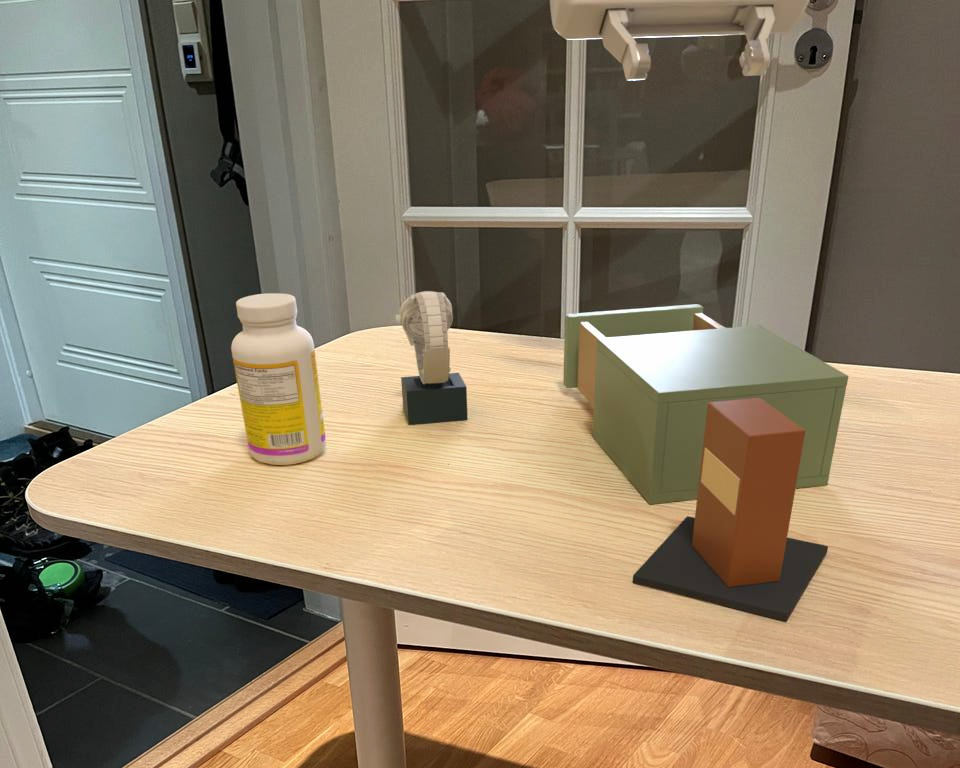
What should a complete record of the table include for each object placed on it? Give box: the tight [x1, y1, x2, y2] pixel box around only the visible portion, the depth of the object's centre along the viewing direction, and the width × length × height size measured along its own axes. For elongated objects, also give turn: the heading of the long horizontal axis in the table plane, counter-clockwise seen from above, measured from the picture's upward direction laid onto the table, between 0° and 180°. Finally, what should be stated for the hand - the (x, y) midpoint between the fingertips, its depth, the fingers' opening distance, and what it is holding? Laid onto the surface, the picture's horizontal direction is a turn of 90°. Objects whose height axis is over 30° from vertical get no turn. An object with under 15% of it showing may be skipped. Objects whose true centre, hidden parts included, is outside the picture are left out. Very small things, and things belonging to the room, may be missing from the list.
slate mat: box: [632, 515, 829, 622], centre depth 62 cm, size 10×10×1 cm
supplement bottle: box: [230, 292, 327, 466], centre depth 78 cm, size 7×7×13 cm
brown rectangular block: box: [692, 398, 806, 587], centre depth 59 cm, size 6×4×10 cm, turn 11°
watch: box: [395, 290, 468, 426], centre depth 85 cm, size 6×8×11 cm
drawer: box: [562, 303, 726, 408], centre depth 87 cm, size 18×13×7 cm
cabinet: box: [592, 324, 849, 505], centre depth 75 cm, size 15×15×9 cm
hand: (698, 71), depth 70 cm, fingers open, 8 cm apart
